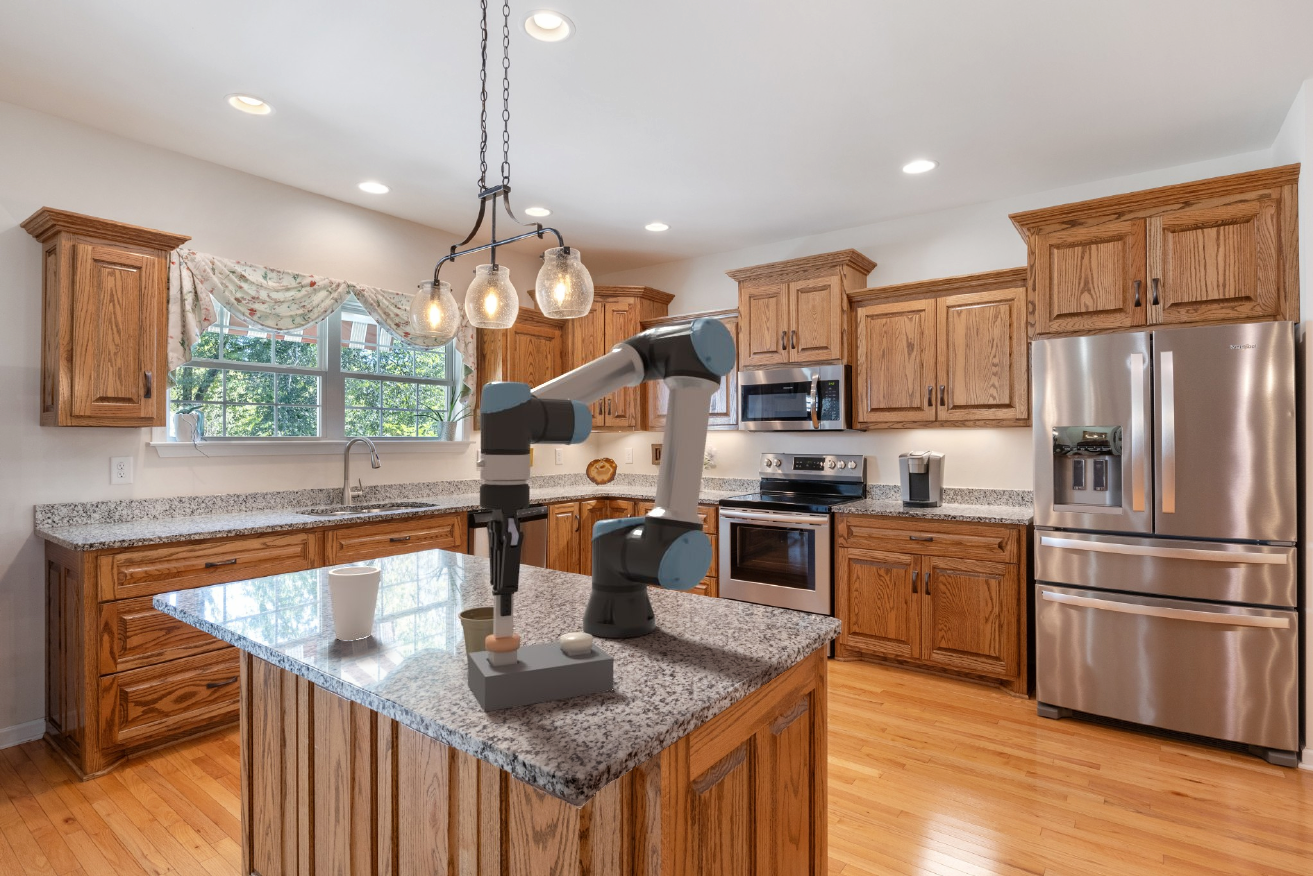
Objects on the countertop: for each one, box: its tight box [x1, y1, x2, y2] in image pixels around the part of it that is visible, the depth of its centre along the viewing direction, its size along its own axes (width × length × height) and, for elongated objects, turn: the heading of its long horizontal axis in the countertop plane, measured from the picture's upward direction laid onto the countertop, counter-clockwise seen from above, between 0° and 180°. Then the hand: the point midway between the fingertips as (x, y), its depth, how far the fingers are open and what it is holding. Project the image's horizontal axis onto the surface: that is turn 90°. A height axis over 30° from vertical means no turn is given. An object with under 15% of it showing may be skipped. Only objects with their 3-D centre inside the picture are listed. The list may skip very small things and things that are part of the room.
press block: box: [467, 641, 615, 713], centre depth 106 cm, size 20×12×5 cm, turn 117°
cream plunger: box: [559, 631, 594, 656], centre depth 109 cm, size 5×5×7 cm
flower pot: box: [457, 606, 494, 663], centre depth 118 cm, size 9×9×9 cm
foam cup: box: [327, 565, 382, 641], centre depth 133 cm, size 10×9×13 cm
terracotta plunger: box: [485, 632, 521, 667], centre depth 104 cm, size 5×5×7 cm
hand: (503, 635), depth 104 cm, fingers closed
